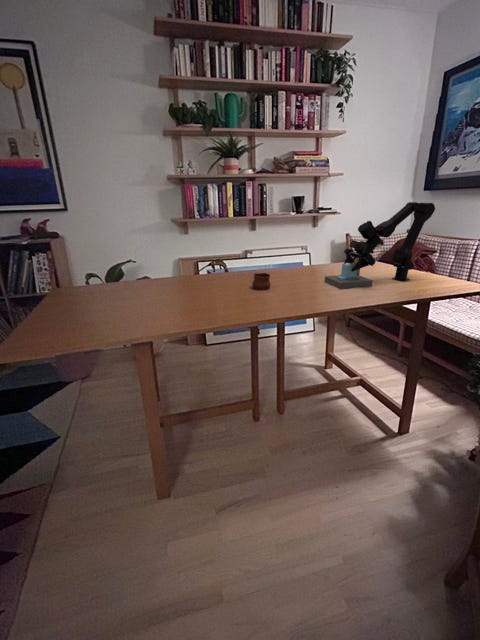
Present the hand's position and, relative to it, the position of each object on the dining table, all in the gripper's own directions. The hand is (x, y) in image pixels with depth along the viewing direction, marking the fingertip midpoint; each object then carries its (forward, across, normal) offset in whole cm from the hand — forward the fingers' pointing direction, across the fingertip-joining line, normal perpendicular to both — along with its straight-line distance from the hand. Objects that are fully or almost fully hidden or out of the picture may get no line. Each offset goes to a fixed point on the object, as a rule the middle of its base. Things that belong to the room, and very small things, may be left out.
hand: (347, 269), depth 156 cm
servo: (+4, 0, +6) cm, 8 cm away
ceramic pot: (+36, -6, -24) cm, 44 cm away
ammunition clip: (-5, -17, +16) cm, 24 cm away
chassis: (+4, 0, +6) cm, 8 cm away
